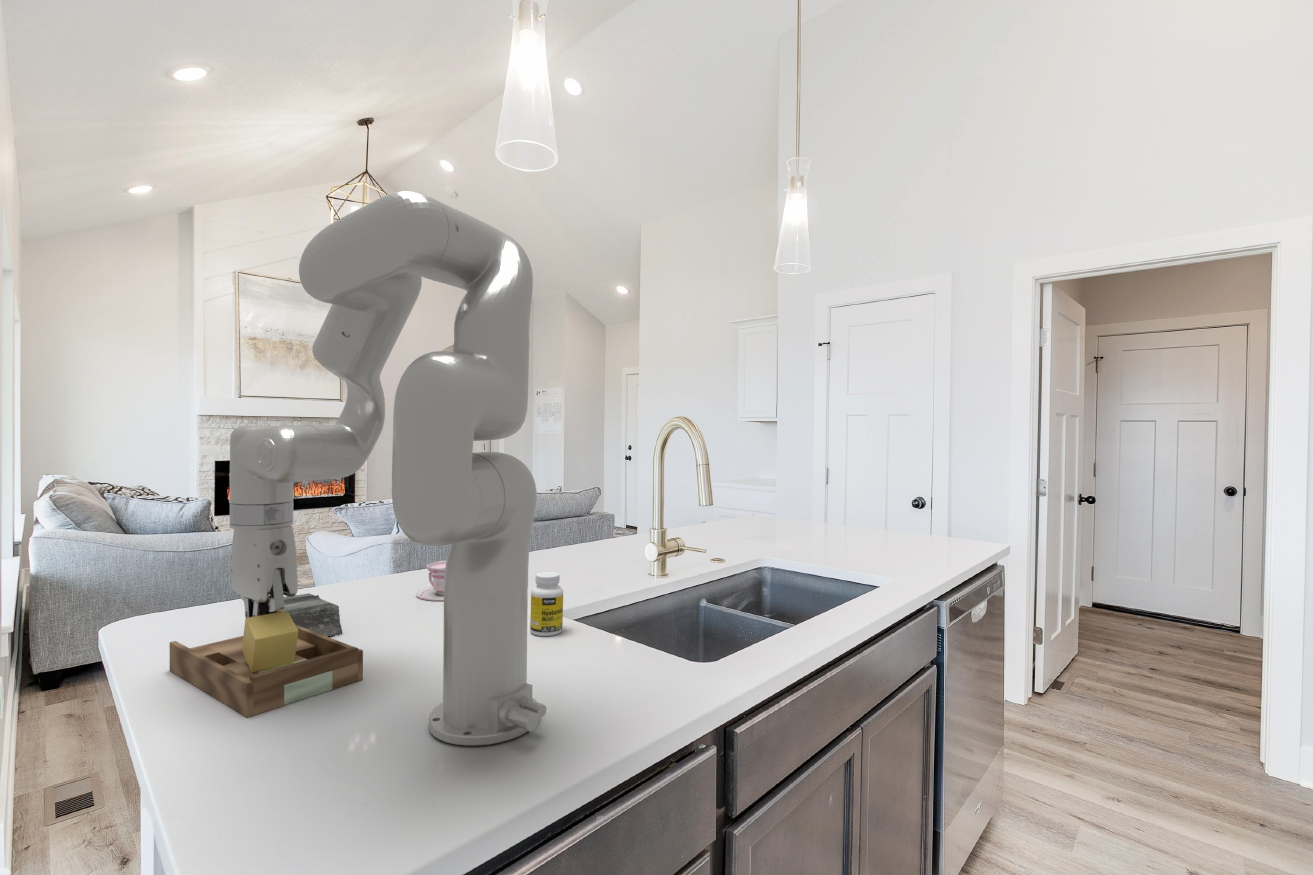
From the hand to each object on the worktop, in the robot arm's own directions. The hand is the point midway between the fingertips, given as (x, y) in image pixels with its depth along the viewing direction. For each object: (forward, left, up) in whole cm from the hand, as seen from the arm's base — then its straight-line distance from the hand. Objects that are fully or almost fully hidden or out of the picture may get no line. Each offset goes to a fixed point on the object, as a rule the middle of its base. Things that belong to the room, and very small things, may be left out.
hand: (261, 646), depth 90 cm
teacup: (+16, -42, -4) cm, 45 cm away
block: (-4, +1, 0) cm, 4 cm away
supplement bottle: (-18, -37, -4) cm, 41 cm away
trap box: (-1, 0, -4) cm, 4 cm away
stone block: (+15, -13, -4) cm, 20 cm away
